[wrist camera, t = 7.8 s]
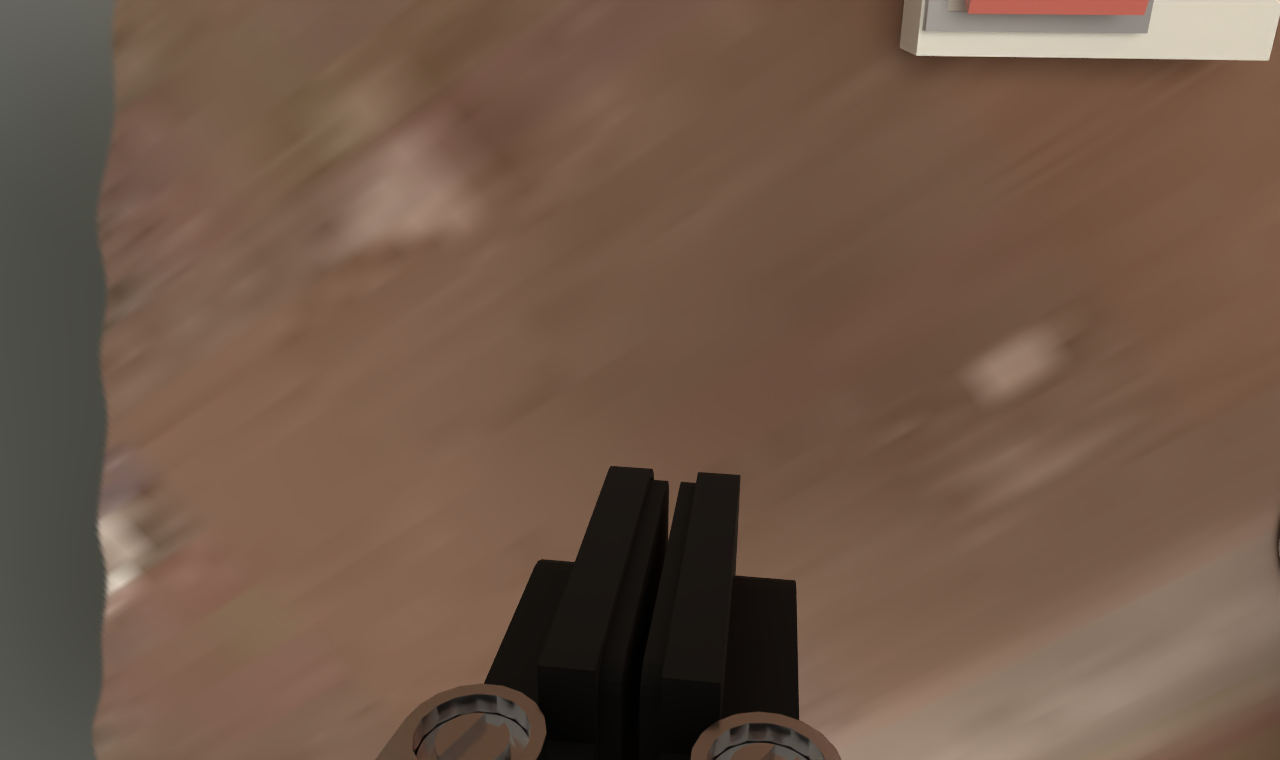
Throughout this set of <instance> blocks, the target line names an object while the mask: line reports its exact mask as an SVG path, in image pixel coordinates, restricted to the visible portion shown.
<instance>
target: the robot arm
mask: <svg viewBox="0 0 1280 760" xmlns="http://www.w3.org/2000/svg"><path fill="white" fill-rule="evenodd" d="M739 494H740V475H731V474H717V473H703V472H698V475H697V481H696V483H688V482H681V484H680V488H679V493H678V497H677V502H676V507H675V512H674V516H673V521H672V526H671V531H670V535H669V540H668V510H669V483H668V481H660V480H654V473H653V469H646V468H632V467H617V466H610V468H609V470H608V473H607V476H606V479H605V481H604V484H603V487H602V489H601V492H600V495H599V498H598V500H597V503H596V506H595V509H594V511H593V514H592V517H591V520H590V522H589V525H588V528H587V530H586V533H585V536H584V539H583V541H582V544H581V547H580V550H579V552H578V555H577V558H576V560H575V562H567V561H555V560H543V559H542V560H539V561H538V562H537V564H536V566H535V567H534V569H533V572H532V574H531V576H530V579H529V581H528V583H527V586H526V588H525V590H524V592H523V595H522V597H521V599H520V602H519V604H518V606H517V609H516V611H515V613H514V615H513V618H512V620H511V622H510V625H509V627H508V629H507V632H506V634H505V636H504V639H503V641H502V643H501V645H500V648H499V650H498V652H497V655H496V657H495V659H494V662H493V664H492V666H491V669H490V671H489V673H488V675H487V678H486V680H485V682H484V684H475V685H466V686H459V687H456V688H453V689H450V690H447V691H444V692H441V693H438V694H436V695H435V696H433V697H431V698H430V699H428V700H426V701H425V702H423V703H421V704H420V705H419V706H418V707H417V708H416V709H415V710H414V711H413V712H412V713H411V714H410V715H409V716H408V717H407V718H406V719H405V720H404V721H403V723H402V724H401V725H400V727H399V728H398V730H397V731H396V732H395V734H394V735H393V736H392V738H391V739H390V740H389V742H388V743H387V744H386V746H385V747H384V748H383V750H382V751H381V752H380V754H379V755H378V756H377V758H376V759H375V760H841V758H840V756H839V754H838V752H837V750H836V748H835V747H834V746H833V745H832V744H831V743H830V742H829V741H828V740H827V738H826V737H825V736H824V735H823V734H822V733H820V732H819V731H817V730H816V729H814V728H812V727H811V726H809V725H807V724H806V723H804V722H802V721H800V720H799V694H798V648H797V602H796V582H795V581H794V580H782V579H770V578H758V577H746V576H735V572H736V553H737V533H738V514H739ZM1279 555H1280V541H1279Z"/></svg>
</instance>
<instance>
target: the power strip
mask: <svg viewBox="0 0 1280 760" xmlns="http://www.w3.org/2000/svg"><path fill="white" fill-rule="evenodd" d="M1279 16H1280V0H1149V2H1148V5H1147V8H1146V11H1145V14H1144V15H1054V14H968V12H967V8H966V5H965V1H964V0H904V8H903V18H902V28H901V37H900V47H899V48H901V49H903V50H905V51H907V52H909V53H912V54H914V55H916V56H977V57H1051V58H1125V59H1199V60H1269V57H1270V53H1271V49H1272V45H1273V41H1274V37H1275V33H1276V29H1277V25H1278V20H1279Z"/></svg>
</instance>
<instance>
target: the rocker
mask: <svg viewBox="0 0 1280 760" xmlns="http://www.w3.org/2000/svg"><path fill="white" fill-rule="evenodd" d="M964 1H965V5H966V8H967V12H968V14H1054V15H1144V14H1145V11H1146V8H1147V5H1148V2H1149V0H964Z"/></svg>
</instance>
